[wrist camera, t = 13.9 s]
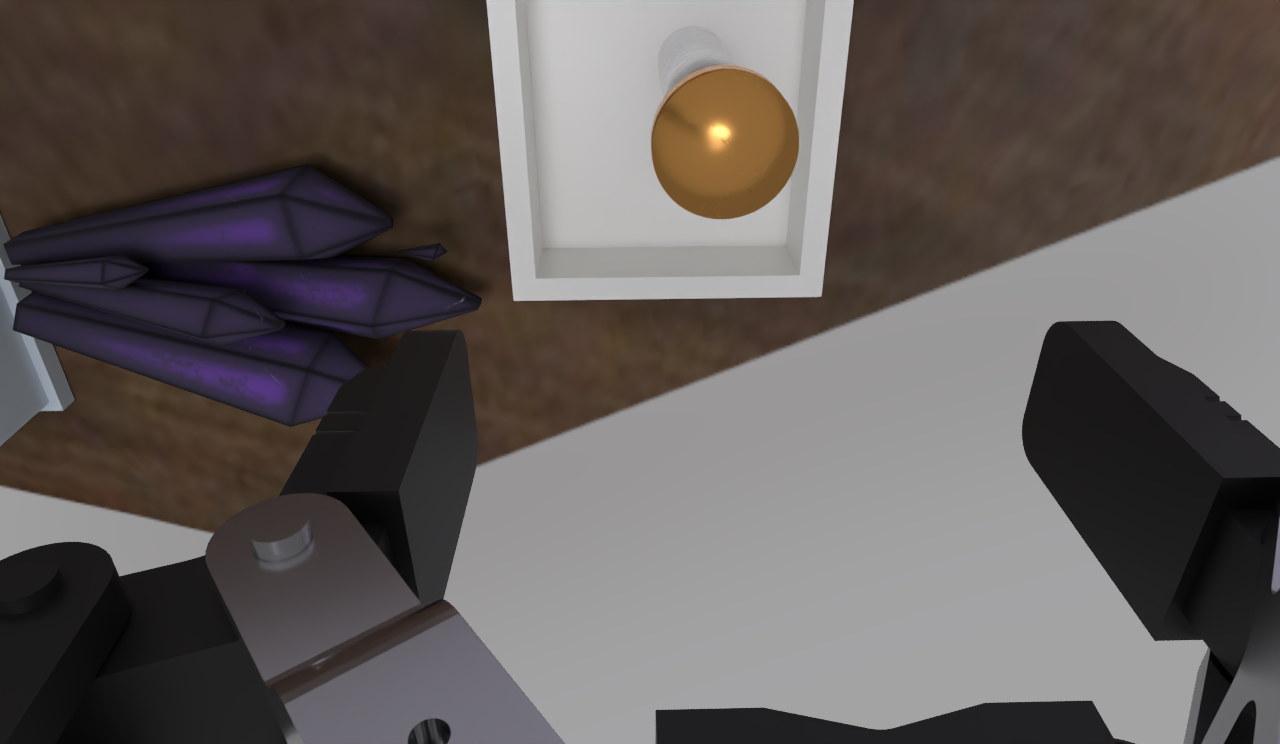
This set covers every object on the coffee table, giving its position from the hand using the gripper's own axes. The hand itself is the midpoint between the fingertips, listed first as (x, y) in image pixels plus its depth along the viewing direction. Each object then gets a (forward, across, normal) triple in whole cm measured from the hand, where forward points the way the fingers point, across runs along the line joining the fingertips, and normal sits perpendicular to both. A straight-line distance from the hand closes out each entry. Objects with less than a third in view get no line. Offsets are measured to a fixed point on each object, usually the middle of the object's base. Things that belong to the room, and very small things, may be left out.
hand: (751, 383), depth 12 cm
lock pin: (+26, -1, 0) cm, 26 cm away
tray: (+26, 0, 0) cm, 26 cm away
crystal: (+27, +18, +9) cm, 34 cm away
